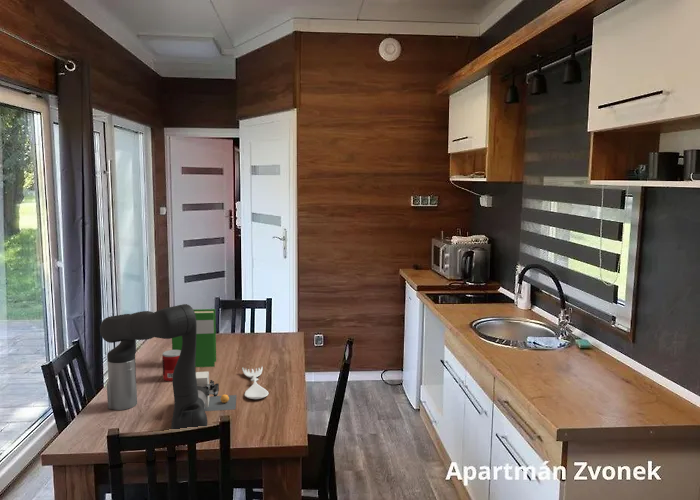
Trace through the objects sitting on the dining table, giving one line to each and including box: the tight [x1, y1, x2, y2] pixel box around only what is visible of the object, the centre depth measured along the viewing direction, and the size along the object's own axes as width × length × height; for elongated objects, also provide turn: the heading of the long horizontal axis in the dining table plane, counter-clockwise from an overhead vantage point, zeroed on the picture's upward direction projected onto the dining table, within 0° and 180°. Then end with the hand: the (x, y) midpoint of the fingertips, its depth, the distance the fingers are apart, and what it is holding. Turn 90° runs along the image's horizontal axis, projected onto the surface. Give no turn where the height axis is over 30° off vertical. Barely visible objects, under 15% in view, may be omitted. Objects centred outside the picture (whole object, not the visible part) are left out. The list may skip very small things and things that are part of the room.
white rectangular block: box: [196, 371, 210, 407], centre depth 197 cm, size 6×6×11 cm
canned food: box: [161, 349, 181, 382], centre depth 223 cm, size 8×8×11 cm
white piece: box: [241, 366, 269, 400], centre depth 216 cm, size 9×32×4 cm, turn 14°
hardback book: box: [171, 308, 217, 368], centre depth 239 cm, size 18×7×24 cm, turn 98°
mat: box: [204, 394, 237, 412], centre depth 199 cm, size 18×13×3 cm
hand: (199, 383), depth 198 cm, fingers open, 8 cm apart
